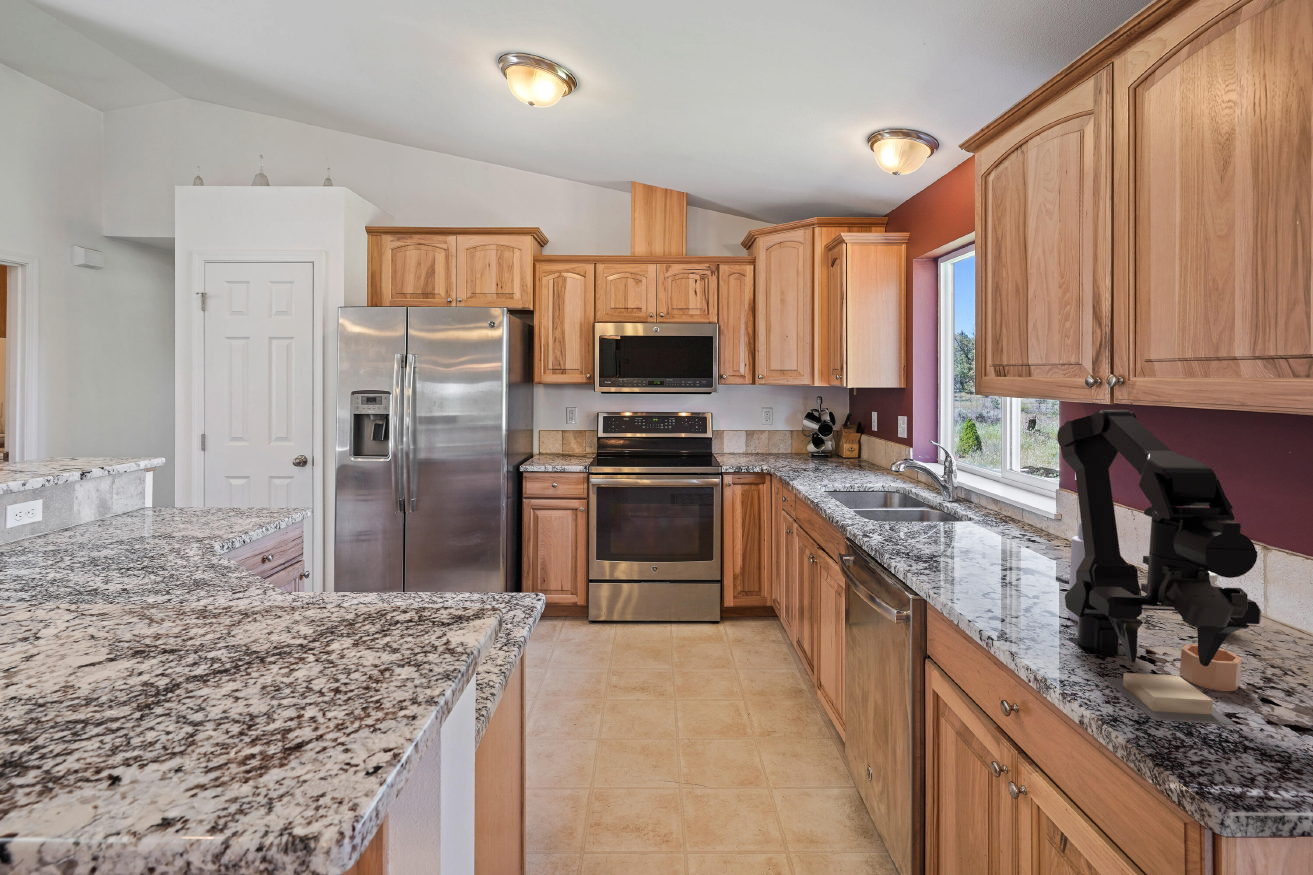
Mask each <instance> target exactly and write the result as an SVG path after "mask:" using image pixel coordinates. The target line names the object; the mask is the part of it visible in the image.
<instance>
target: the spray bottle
mask: <svg viewBox="0 0 1313 875" xmlns="http://www.w3.org/2000/svg"><path fill="white" fill-rule="evenodd" d="M1084 557H1085V549H1084V541H1083V533H1082V524H1081V521H1079V524H1078V534H1077V535H1076V536H1072V537H1071V544H1070V558H1069V559H1070V560H1069V562H1070V563H1069V577H1068V580H1069V581H1068V591H1069V590H1070V589H1071V588H1072V587H1073V585H1074V584H1075V583H1076V571H1077V569H1078V567H1079V566H1080V564H1081V562H1082V561H1083V559H1084ZM1067 616H1068V618H1070V619H1071V620H1073V621H1074V622H1077V623H1078V619H1079V617H1078V616H1077V615H1075V614H1074V613H1073V612H1071V611H1070V610H1069V609H1067Z"/></svg>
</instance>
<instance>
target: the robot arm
mask: <svg viewBox="0 0 1313 875" xmlns="http://www.w3.org/2000/svg"><path fill="white" fill-rule="evenodd" d="M1056 437H1057V438H1056V439H1057V443H1058V445H1059V446H1060V452H1061V456H1062V459H1063V460H1064V461H1065V462H1066V463H1067V464H1068V466H1069V467H1070V468H1071V469H1072V470H1073V471H1074V474H1075V482H1076V489H1077V491H1076V492H1077V497H1078V498H1077V499H1078V506H1079V507H1078V508H1079V514H1080V515H1079V516H1080V522H1081V524H1082V533H1083V541H1084V549H1085V557H1084V559H1083V561H1082V562H1081V564H1080V566H1079V567H1078V569H1077V571H1076V583H1075V584H1074V585H1073V587H1072V588H1071V589H1070V590H1069V589H1068V591H1067V592H1066V593H1065V595H1064V600H1065V602H1064V603H1065V608H1066V609H1067V610H1068V609H1069V610H1070V611H1071V612H1073V613H1074V614H1075V615H1077V616H1078V617H1079V619H1078V622H1077V623H1078V624H1077V636H1076V637H1071V636H1070V637H1068V638H1067V641H1068V642H1071V643H1072V644H1073V645H1075V646H1076V647H1077V648H1078V649H1079V650H1081V651H1082V652H1083V653H1085V654H1088V655H1101V656H1102V655H1103V656H1122V657H1126V659H1127V660H1128V662H1130V663H1132V664H1135V663H1136V661H1137V660H1136V659H1137V656H1138V655H1137V654H1138V630H1139V629H1140V627H1141V626H1142V625H1143V624H1144V621H1143V620H1141V619H1139V618H1138V617H1140V616H1142V614H1143V611H1167V612H1168V611H1169V612H1177V613H1178V614H1179V615H1180V616H1181V619H1182V621H1183V622H1184V623H1186V624H1187V625H1189V626H1193V627H1197V630H1196V631H1197V645H1198V655H1199V662H1200V664H1201V665H1203V666H1208V665H1209V664H1210V662H1211V661H1212V659H1213V657H1214V656H1215V654H1216V653H1217V651H1218V649H1219V648H1220V647H1221V646H1222V645H1223V643H1224V642H1225V641H1226V640H1227V638H1228V637H1229V636H1230V634H1232V633H1234V632H1237V631H1239V630H1247V629H1249V627H1250V625H1260V624H1261V620H1262V619H1261V618H1262V610H1261V607H1260V606H1259V605H1258V603H1257V602H1256V601H1254V600H1252V599H1250V598H1248V597H1249V596H1248V593H1247V592H1246V591H1244V590H1243V589H1242V588H1241V587H1222V586H1220V587H1213V586H1212V585H1211V583H1210V580H1209V576H1210V574H1209V572H1208V571H1210V572H1212V573H1214V574H1217V576H1219V577H1223V578H1227V579H1229V578H1230V579H1232V578H1238V577H1242V576H1244V575H1246V574H1247V573H1249V572H1250V570H1252V569H1253V568H1254V566H1255V564H1256V562H1257V560H1258V551H1257V549H1256V546H1255V544H1254V542H1253V541H1252V540H1251V539H1250V538H1249V537H1248V536H1246V535H1245V534H1243V533H1241V530H1242V529H1241V528H1242V526H1241V525H1242V524H1241V523H1240V522H1236V521H1234V520H1235V516H1234V514H1233V511H1232V509H1233V506H1232V504H1231V502H1230V501H1229V499H1228V497H1227V496H1226V493H1225V491H1224V489H1223V487H1222V485H1221V481H1220V479H1219V478H1218V476H1217V474H1216V473H1215V471H1214V469H1212V468H1211V467H1210V466H1208V465H1206V464H1204V463H1203V462H1201V461H1199V460H1197V459H1196V458H1193V457H1188V456H1185V455H1181V454H1179V453H1177V452H1174V451H1172V450H1171V449H1170V448H1169V447H1168V446H1167V445H1165V444H1164V443H1163V442H1162V441H1161V440H1160V439H1159V438H1158V437H1157V436H1156V435H1154V434H1153V433H1152V432H1151V431H1150V430H1149V429H1148V428H1147V427H1146V426H1144V425H1143V424H1142V423H1141V422H1140V421H1139V420H1138V418H1137V415H1136V413H1135V412H1133V411H1130V410H1128V409H1101V410H1100V411H1096V412H1094V413H1092V414H1090V415H1087V416H1083V417H1080V418H1079V417H1078V418H1075V419H1070V420H1067V421H1065V423H1064V424H1063V425H1061V426H1060V427H1059V428H1058V430H1057V434H1056ZM1118 454H1120V455H1121V456H1122V457H1123V458H1125V460H1126V461H1127V462H1129V464H1130V466H1132V467H1133V468H1134V469H1135V470H1136V471H1137V473H1138V474H1139V476H1140V477H1139V480H1138V487H1139V488H1140V490H1141V492H1143V494H1144V495H1145V497H1146V499H1147V500H1148V501H1149V503H1150V504H1151V506H1149V507H1147V508H1146V509H1144V510H1143V514H1144V515H1145V516H1146V517H1149V518H1151V519H1150V520H1151V522H1150V535H1149V536H1150V537H1149V552H1148V555H1142V563H1143V564H1145V565H1147V579H1146V580H1147V581H1146V583H1141V584H1140V583H1139V574H1138V569H1137V568H1136V566H1135V565H1133V564H1128V562H1127V561H1126V560H1125V559H1124V557H1123V556H1122V555H1121V549H1120V541H1119V535H1118V527H1117V519H1116V512H1115V505H1114V497H1113V489H1112V482H1111V480H1112V479H1111V475H1110V474H1111V473H1110V467H1112V464H1113V463H1114V460H1115V459H1116V457H1117V456H1118ZM1142 592H1143V593H1145V595H1142ZM1120 643H1121V646H1122V648H1121V647H1119V646H1120ZM1220 649H1221V648H1220Z"/></svg>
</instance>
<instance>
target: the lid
mask: <svg viewBox="0 0 1313 875" xmlns="http://www.w3.org/2000/svg"><path fill="white" fill-rule="evenodd" d="M1122 679H1123V686H1124V687H1125V688H1126V689H1127V690H1129V691H1130V692H1131V693H1132V694H1133V695H1135V696H1136V697H1137V698H1138V699H1139V700H1141V701H1142V702H1143V703H1144V704H1145V705H1147V706H1148V707H1149V708H1150V709H1151V710H1153V711H1162V712H1179V713H1196V714H1212V707H1213V704H1214V700H1213V699H1212V698H1211V697H1209V696H1207V695H1206V694H1205V693H1203V692H1202V691H1201V690H1199V689H1197V687H1195V686H1193V685H1192V684H1191V683H1190V682H1189V681H1187V680H1186V679H1184V678H1183V677H1180V676H1179V675H1171V674H1170V675H1169V674H1156V673H1155V674H1153V673H1135V672H1134V673H1133V672H1123V677H1122ZM1213 708H1214V707H1213Z"/></svg>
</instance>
